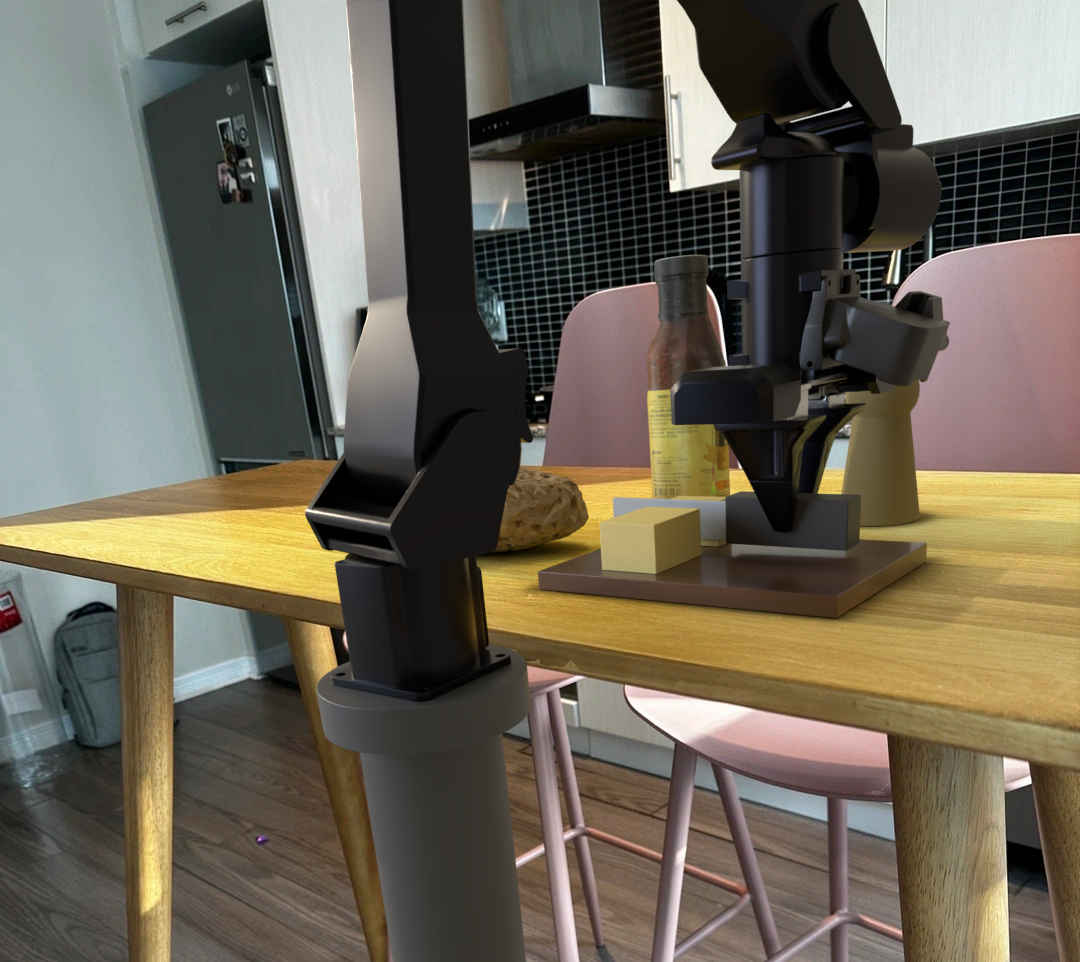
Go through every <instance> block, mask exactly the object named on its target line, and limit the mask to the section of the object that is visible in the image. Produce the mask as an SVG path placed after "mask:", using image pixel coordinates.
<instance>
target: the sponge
mask: <svg viewBox="0 0 1080 962" xmlns="http://www.w3.org/2000/svg"><path fill="white" fill-rule="evenodd" d="M589 519H590V515H589V512H588V507H587V505H586V501H585V500H584V497H583V491H581V490H580V489H579V486H578V484H577V483H575V482H574V480H572V478H569V477H567V476H561V475H556V474H553V473H552V472H545V471H541V470H537V469H528V468H524V467H520V471H519V474H518V477H517V480H516V482H515V484H514V485H512V486H510V487H509V489H508V491H507V496H506V501H505V507H504V512H503V517H502V522H501V528H500V533H499V538H498V544H497V548H496V550H495V551H493V552H492V553H504V552H510V551H511V552H513V551H520V550H526V549H530V548H534V547H538V546H540V545H545V544H548V543H550V542H553V541H558V540H562V539H565V538H568V537H569V536H571V535H573V534H574V533H575V532H577V531H579V530H581V528H583V527H584V526H585V525H586V524H587V521H588V520H589Z"/></svg>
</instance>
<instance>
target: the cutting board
mask: <svg viewBox="0 0 1080 962" xmlns="http://www.w3.org/2000/svg"><path fill="white" fill-rule="evenodd" d="M927 549H928V543H927V542H923V541H922V542H921V541H920V542H919V541H903V540H881V539H862V538H860V539H859V544H857V545H856V546H854V547H852V548H850V549H849V550H847V551H841V550H824V549H808V548H792V547H775V546H759V545H743V544H724V545H722V546H720V547H715V546H701V555H700V556H698V557H695V558H693V559H691V560H688V561H686V562H684V563H681V564H679V565H677V566H674V567H672V568H670V569H667V570H665V571H662V572H660V573H658V574H648V573H635V572H623V571H610V570H602V557H601V548H598V549H595V550H593V551H590V552H587V553H584V554H582V555H579V556H576V557H574V558H571V559H570V558H569V559H568V560H565V561H562V562H560V563H557V564H554V565H552V566H548V567H545V568H544V569H540V570H538V571H537V580H538V589H539V590H541V591H542V590H545V591H554V592H563V593H574V594H583V595H594V596H604V597H605V596H606V597H616V598H626V599H634V600H645V601H656V602H667V603H676V604H687V605H696V606H707V607H718V608H728V609H738V610H748V611H758V612H770V613H778V614H780V613H781V614H789V615H801V616H809V617H819V618H830V619H838V618H839V617H841V616H842V615H844V614H846V613H847V612H849V611H850V610H852V609H854V608H855V607H857V606H858V605H860V604H861V603H863V602H864V601H866V600H867V599H869V598H870V597H872V596H874V595H875V594H877V593H879V592H880V591H882V590H883V589H885V588H887V587H888V586H889V585H892V583H895V582H896V581H898V580H899V579H901V578H902V577H903V576H905V575H908V573H910V572H912V571H914V570H915V569H917V568H918V567H920V566H922V565H923V564H924V563H926V562H927V551H928V550H927Z"/></svg>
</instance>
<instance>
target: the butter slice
mask: <svg viewBox="0 0 1080 962" xmlns="http://www.w3.org/2000/svg"><path fill="white" fill-rule="evenodd" d="M725 498H726V497H709V496H677V497H674V498H671V499H684V500H712V501H725ZM724 544H727V543H726V540H711V539H701V546H715V547H720V546H722V545H724Z"/></svg>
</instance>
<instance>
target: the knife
mask: <svg viewBox="0 0 1080 962" xmlns="http://www.w3.org/2000/svg"><path fill="white" fill-rule="evenodd" d="M645 507H669V508H699V509H700V528H701V539H711V540H726V543H727V544H743V545H759V546H775V547H792V548H808V549H824V550H841V551H847V550H849V549H850V548H852V547H854V546H856V545H857V544H859V539H861V538H860V537H861V535H860V533H861V526H860V512H861V495H853V494H841V493H819V492H818V493H798V494H797V502H796V510H795V515H794V521H793V527H792V530H791V531H789V532H775V531H774V530H773V529H772V527H771V525H770V523H769V521H768V519H767V517H766V515H765V513H764V511H763V509H762V507H761V505H760V502H759V500H758V498H757V496H756V494H755V492H754V491H749V490H748V491H746V490H740V491H737V492H735V493H732V494H730V495H729V496H727V497H726V498H725V501H712V500H684V499H655V498H653V497H651V498H649V497H627V496H626V497H625V496H623V497H622V496H615V497H612V512H613V518H614V517H617V516H620V515H623V514H626V513H629V512H632V511H635V510H638V509H642V508H645Z"/></svg>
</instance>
